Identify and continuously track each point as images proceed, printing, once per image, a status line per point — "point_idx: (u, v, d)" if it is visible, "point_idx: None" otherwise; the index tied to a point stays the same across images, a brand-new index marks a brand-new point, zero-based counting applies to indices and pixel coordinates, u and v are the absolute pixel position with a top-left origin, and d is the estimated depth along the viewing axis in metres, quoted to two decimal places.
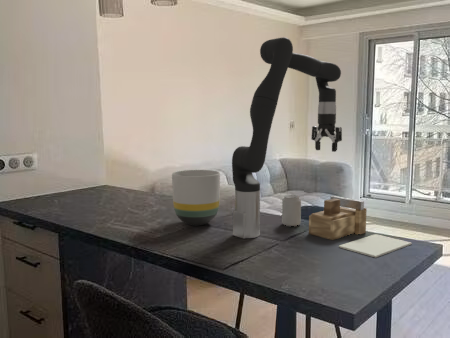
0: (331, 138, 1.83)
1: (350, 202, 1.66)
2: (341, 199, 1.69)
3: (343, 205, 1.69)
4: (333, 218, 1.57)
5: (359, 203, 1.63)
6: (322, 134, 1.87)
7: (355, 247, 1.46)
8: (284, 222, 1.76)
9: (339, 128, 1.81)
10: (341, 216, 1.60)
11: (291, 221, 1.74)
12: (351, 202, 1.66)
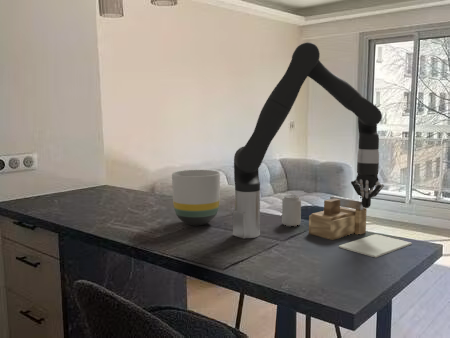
0: (366, 192, 1.60)
1: (350, 202, 1.66)
2: (341, 199, 1.69)
3: (343, 205, 1.69)
4: (333, 218, 1.57)
5: (359, 203, 1.63)
6: (365, 184, 1.60)
7: (355, 247, 1.46)
8: (284, 222, 1.76)
9: (381, 187, 1.56)
10: (341, 216, 1.60)
11: (291, 221, 1.74)
12: (351, 202, 1.66)
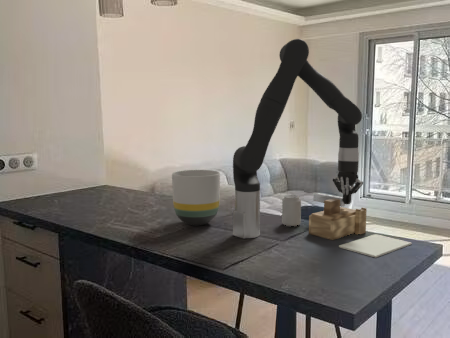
0: (347, 189, 1.66)
1: None
2: (323, 196, 1.76)
3: None
4: (333, 218, 1.57)
5: (340, 200, 1.70)
6: (346, 182, 1.67)
7: (355, 247, 1.46)
8: (284, 222, 1.76)
9: (360, 184, 1.63)
10: (341, 216, 1.60)
11: (291, 221, 1.74)
12: (333, 198, 1.72)
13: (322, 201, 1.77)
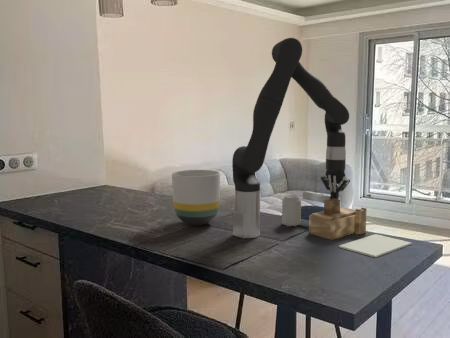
0: (334, 187, 1.71)
1: (320, 196, 1.77)
2: (312, 194, 1.81)
3: (314, 199, 1.80)
4: (333, 218, 1.57)
5: (328, 197, 1.74)
6: (333, 180, 1.71)
7: (355, 247, 1.46)
8: (284, 222, 1.76)
9: (347, 182, 1.67)
10: (341, 216, 1.60)
11: (291, 221, 1.74)
12: (321, 196, 1.77)
13: (311, 199, 1.81)
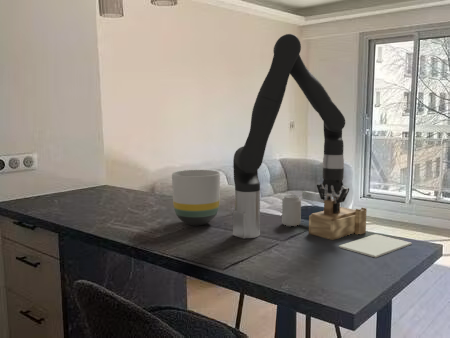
0: (334, 197, 1.61)
1: (319, 196, 1.78)
2: (311, 194, 1.81)
3: (313, 199, 1.80)
4: (333, 218, 1.57)
5: None
6: (330, 190, 1.62)
7: (355, 247, 1.46)
8: (284, 222, 1.76)
9: (346, 190, 1.57)
10: (341, 216, 1.60)
11: (291, 221, 1.74)
12: None
13: (310, 199, 1.81)
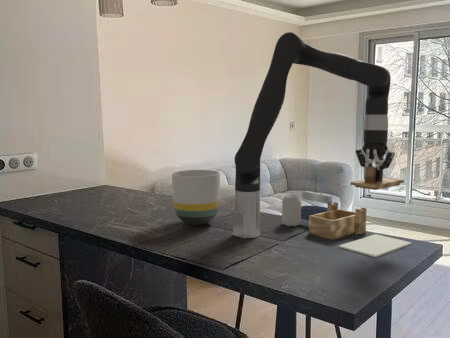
0: (376, 163, 1.42)
1: (319, 196, 1.78)
2: (311, 194, 1.81)
3: (313, 199, 1.80)
4: (377, 186, 1.39)
5: (327, 197, 1.75)
6: (371, 155, 1.44)
7: (355, 247, 1.46)
8: (284, 222, 1.76)
9: (392, 154, 1.39)
10: (385, 184, 1.42)
11: (291, 221, 1.74)
12: (320, 196, 1.77)
13: (310, 199, 1.81)
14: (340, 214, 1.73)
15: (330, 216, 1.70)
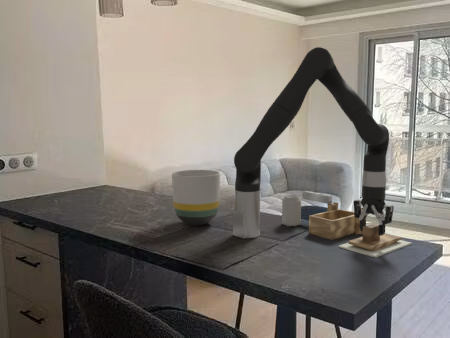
0: (378, 218, 1.44)
1: (319, 196, 1.78)
2: (311, 194, 1.81)
3: (313, 199, 1.80)
4: (374, 247, 1.41)
5: (327, 197, 1.75)
6: (368, 211, 1.46)
7: (355, 247, 1.46)
8: (284, 222, 1.76)
9: (391, 208, 1.41)
10: (382, 244, 1.44)
11: (291, 221, 1.74)
12: (320, 196, 1.77)
13: (310, 199, 1.81)
14: (340, 214, 1.73)
15: (330, 216, 1.70)
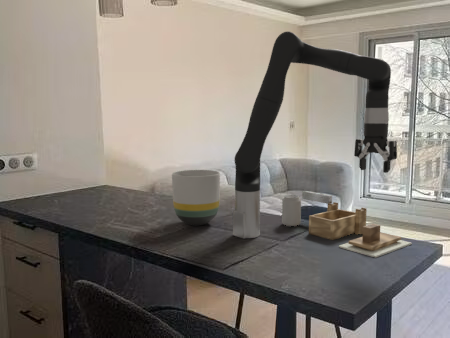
0: (382, 155, 1.40)
1: (319, 196, 1.78)
2: (311, 194, 1.81)
3: (313, 199, 1.80)
4: (374, 247, 1.41)
5: (327, 197, 1.75)
6: (369, 150, 1.44)
7: (355, 247, 1.46)
8: (284, 222, 1.76)
9: (394, 142, 1.38)
10: (382, 244, 1.44)
11: (291, 221, 1.74)
12: (320, 196, 1.77)
13: (310, 199, 1.81)
14: (340, 214, 1.73)
15: (330, 216, 1.70)
